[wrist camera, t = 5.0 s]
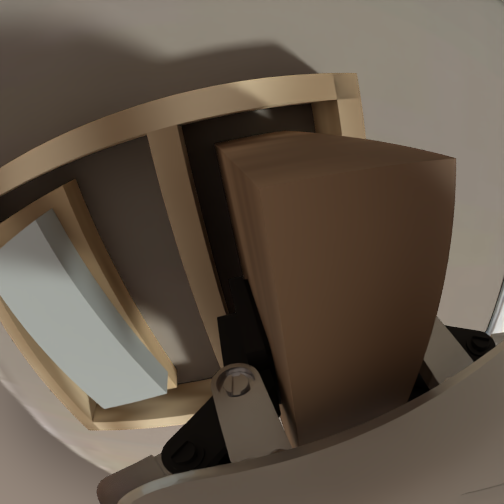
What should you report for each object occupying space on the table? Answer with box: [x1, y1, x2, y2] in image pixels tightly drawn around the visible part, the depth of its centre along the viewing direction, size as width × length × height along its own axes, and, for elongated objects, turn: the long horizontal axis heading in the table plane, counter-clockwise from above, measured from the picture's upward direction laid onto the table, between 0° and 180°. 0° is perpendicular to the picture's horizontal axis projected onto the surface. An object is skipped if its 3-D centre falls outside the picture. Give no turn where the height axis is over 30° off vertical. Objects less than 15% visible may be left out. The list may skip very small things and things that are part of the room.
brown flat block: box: [214, 131, 456, 448], centre depth 10 cm, size 3×12×9 cm, turn 10°
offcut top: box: [0, 208, 168, 409], centre depth 11 cm, size 4×10×2 cm, turn 22°
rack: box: [0, 73, 366, 430], centre depth 12 cm, size 18×16×2 cm
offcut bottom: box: [0, 179, 177, 389], centre depth 13 cm, size 5×12×2 cm, turn 16°
